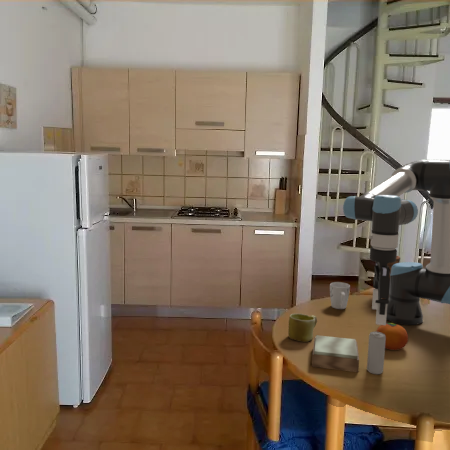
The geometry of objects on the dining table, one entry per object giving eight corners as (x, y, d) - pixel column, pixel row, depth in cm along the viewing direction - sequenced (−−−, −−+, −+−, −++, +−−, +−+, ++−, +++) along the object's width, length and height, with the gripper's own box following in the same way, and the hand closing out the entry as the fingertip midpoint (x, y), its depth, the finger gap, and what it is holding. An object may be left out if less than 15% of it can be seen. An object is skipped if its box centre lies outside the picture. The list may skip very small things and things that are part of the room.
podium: (356, 352, 152) (357, 338, 151) (358, 372, 139) (359, 356, 138) (314, 348, 155) (314, 334, 154) (312, 366, 142) (312, 351, 141)
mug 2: (352, 312, 191) (354, 289, 189) (332, 312, 191) (333, 289, 189) (345, 303, 202) (347, 282, 200) (327, 303, 202) (328, 281, 200)
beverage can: (364, 367, 142) (366, 331, 140) (379, 367, 142) (381, 331, 140) (370, 375, 137) (373, 337, 135) (385, 374, 137) (388, 337, 135)
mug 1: (298, 342, 155) (298, 312, 158) (281, 340, 164) (282, 312, 167) (326, 343, 161) (326, 314, 163) (309, 341, 170) (309, 314, 172)
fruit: (407, 356, 150) (409, 333, 149) (374, 351, 154) (376, 328, 153) (406, 343, 160) (408, 322, 159) (375, 339, 164) (377, 318, 162)
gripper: (367, 239, 146) (363, 302, 149) (373, 255, 122) (368, 330, 125) (391, 240, 144) (386, 304, 148) (403, 257, 120) (397, 333, 124)
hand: (378, 316), depth 136 cm, fingers open, 13 cm apart
